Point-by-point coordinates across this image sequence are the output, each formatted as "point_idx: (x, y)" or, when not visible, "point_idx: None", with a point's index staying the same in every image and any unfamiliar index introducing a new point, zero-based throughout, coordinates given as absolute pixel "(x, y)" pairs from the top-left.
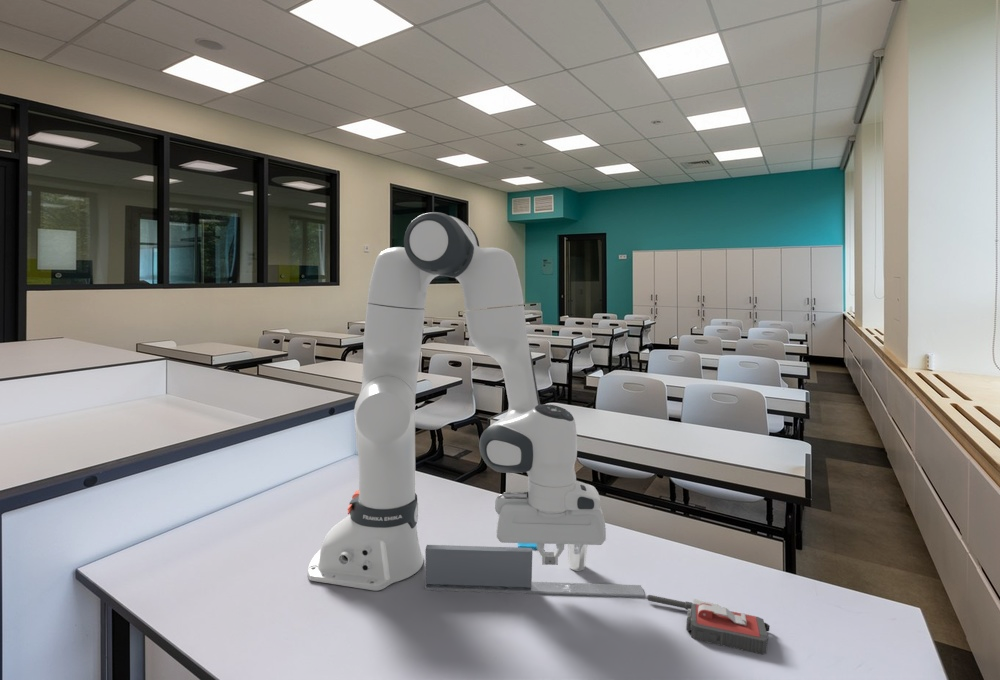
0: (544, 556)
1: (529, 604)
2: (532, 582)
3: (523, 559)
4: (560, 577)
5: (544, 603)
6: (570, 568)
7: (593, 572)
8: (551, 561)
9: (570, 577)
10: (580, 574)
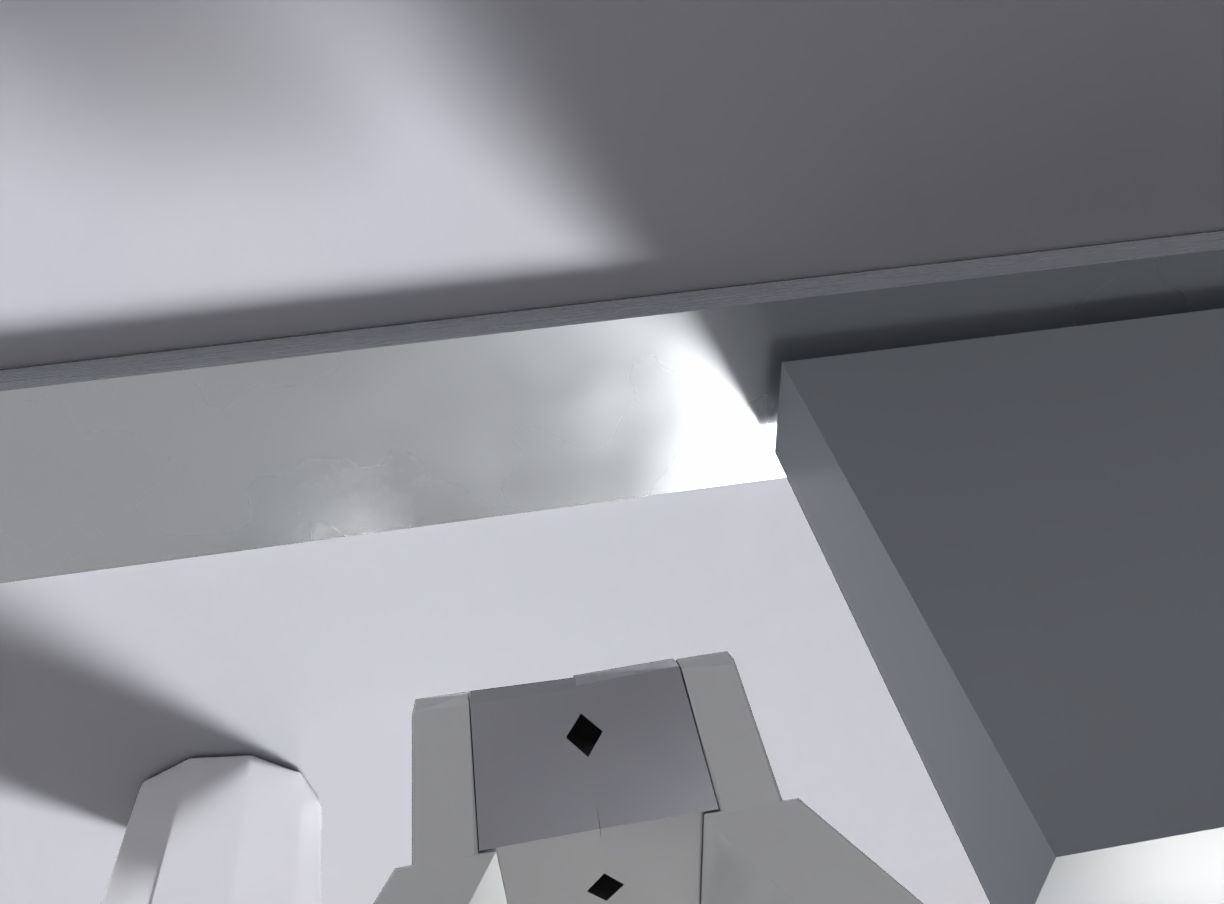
0: (737, 810)
1: (823, 19)
2: (746, 470)
3: (1140, 666)
4: (393, 631)
5: (586, 80)
6: (294, 772)
7: (9, 775)
8: (553, 736)
9: (270, 654)
10: (158, 719)
